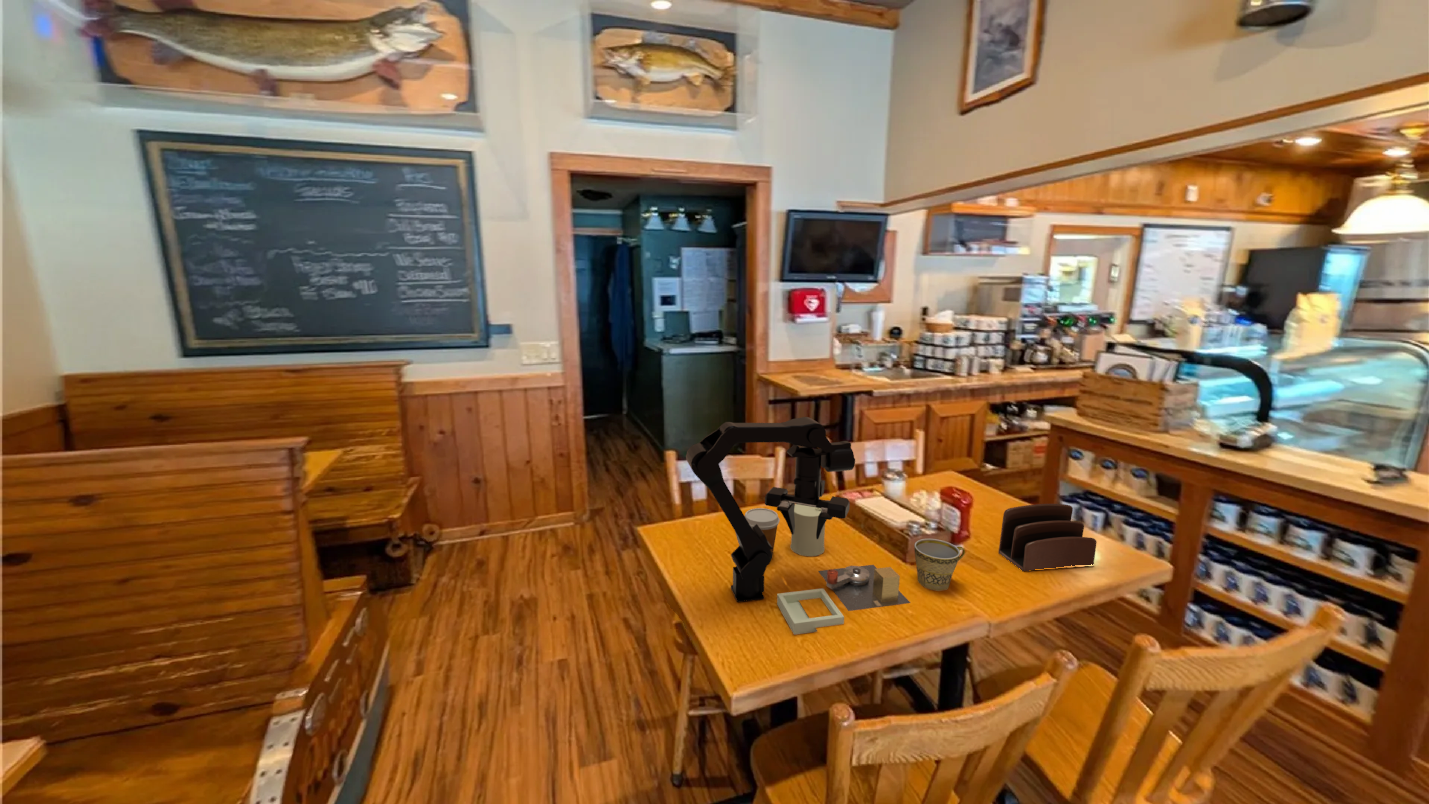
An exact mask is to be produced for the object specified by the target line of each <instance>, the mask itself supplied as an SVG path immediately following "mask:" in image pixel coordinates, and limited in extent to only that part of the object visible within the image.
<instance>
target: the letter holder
mask: <svg viewBox="0 0 1429 804" xmlns="http://www.w3.org/2000/svg"><path fill="white" fill-rule="evenodd" d="M1073 511H1074V510H1073V506H1072V505H1070V504H1063V503H1039V504H1038V503H1037V504H1028V505H1027V504H1026V505H1020V506H1014V507H1009V508H1006V509H1005V510H1004V512H1003V515H1002V523H1001V531H1000V538H999V539H1000V540H999V547H998V554H999V555H1000V554H1001V555H1002V556H1001V555H1000V556H1001V557H1003V556H1004V557H1005V558H1006V559H1005V558H1004V557H1003V558H1004V559H1005V560H1007V561H1008V560H1009V561H1010V563H1011V562H1012V563H1013V564H1014V565H1013V564H1012V563H1011V564H1012V565H1013V566H1015V565H1016V566H1017V567H1018V569H1019V568H1020V569H1021V570H1022V571H1021V570H1020V569H1019V570H1020V571H1021V572H1023V571H1027V572H1030V571H1029V570H1035V569H1044V568H1056V567H1064V566H1071V565H1072V566H1075V565H1091V564H1092V565H1093V564H1094V565H1095V558H1096V557H1095V556H1096V552H1097V551H1096V549H1097V544H1098V541H1097V539H1095V538H1093V537H1088V536H1083V535H1084V530H1085V524H1084V523H1083V522H1081V521H1075V520H1073V521H1072V516H1073V513H1074V512H1073ZM1009 561H1008V562H1009ZM1016 566H1015V567H1016ZM1017 567H1016V568H1017Z"/></svg>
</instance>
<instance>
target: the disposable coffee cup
mask: <svg viewBox="0 0 1429 804" xmlns="http://www.w3.org/2000/svg"><path fill="white" fill-rule="evenodd" d="M744 516H745V518H746V520H747V521H748V523H749V524H750V525H751V526H752V527H754V526H755V525H756V524H757V525H758V526H759V527H760V529H761V530H762V532H763V533H764V535H765V537H766V539H767V541H768V542H769V543H770V545H771V546H772V548H773V549H771V552H772V557H773V556H774V550H775V543H776V537H777V531H778V525H779V523H780V518H779V515H778V513H777V512H776V511H774V510H773V509H768V508H763V507H757V508H751V509H749V510H747V511H746V512H745V513H744Z"/></svg>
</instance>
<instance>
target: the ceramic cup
mask: <svg viewBox="0 0 1429 804" xmlns="http://www.w3.org/2000/svg"><path fill="white" fill-rule="evenodd" d="M913 546H914V548H913V549H914V558H915V564H916V572H917V583H919V584H920V585H921V586H922V587H924V588H925V589H927V590H931V591H937V592H941V591H946V590H948V589H949V587H950V584H951V581H952V577H953V575H954V572H955V569H956V567H957V565H958V562H959V561H961V560H962V558H963V557H964V556H965V555H966V550H965V548H964V547H962V546H956V545H954V544H953V543H950V542H948V541H946V540H943V539H942V540H941V539H938V538H922V539H919V540H917V541H916V542H914V545H913ZM961 551H962V553H961Z"/></svg>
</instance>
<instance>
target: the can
mask: <svg viewBox="0 0 1429 804" xmlns="http://www.w3.org/2000/svg"><path fill="white" fill-rule="evenodd" d="M821 511H822V510H821V508H817V507H811V506H805V505H799V504H795V507H794V517H795V532H794V534H791V538H790V539H791V540H790V542H791V543H790V549H791V551H792V552H794V553H795V554H796V555H799V556H803V557H817V556H820V555H822V554H823V553H824V552H825V534H826V533H825V530H826V523H825V524H824V527H823V529H822V532H821V534H820V537H819V539H816V532H817V524H818V516H819V514H820V513H821Z"/></svg>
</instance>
